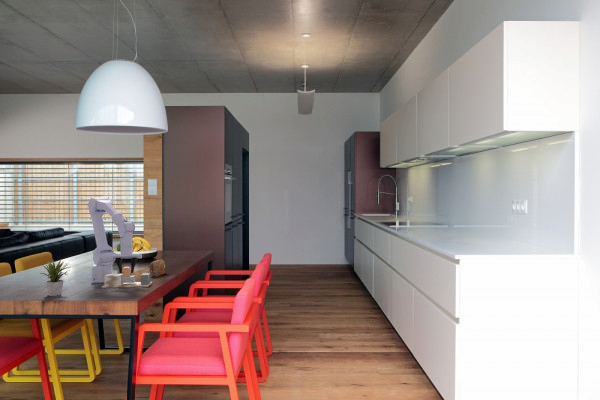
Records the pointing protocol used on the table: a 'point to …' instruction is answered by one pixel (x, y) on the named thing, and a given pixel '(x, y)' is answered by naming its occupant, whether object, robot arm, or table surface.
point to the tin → (157, 267)
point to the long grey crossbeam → (127, 276)
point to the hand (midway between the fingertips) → (126, 272)
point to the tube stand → (119, 282)
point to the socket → (145, 278)
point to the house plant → (55, 278)
